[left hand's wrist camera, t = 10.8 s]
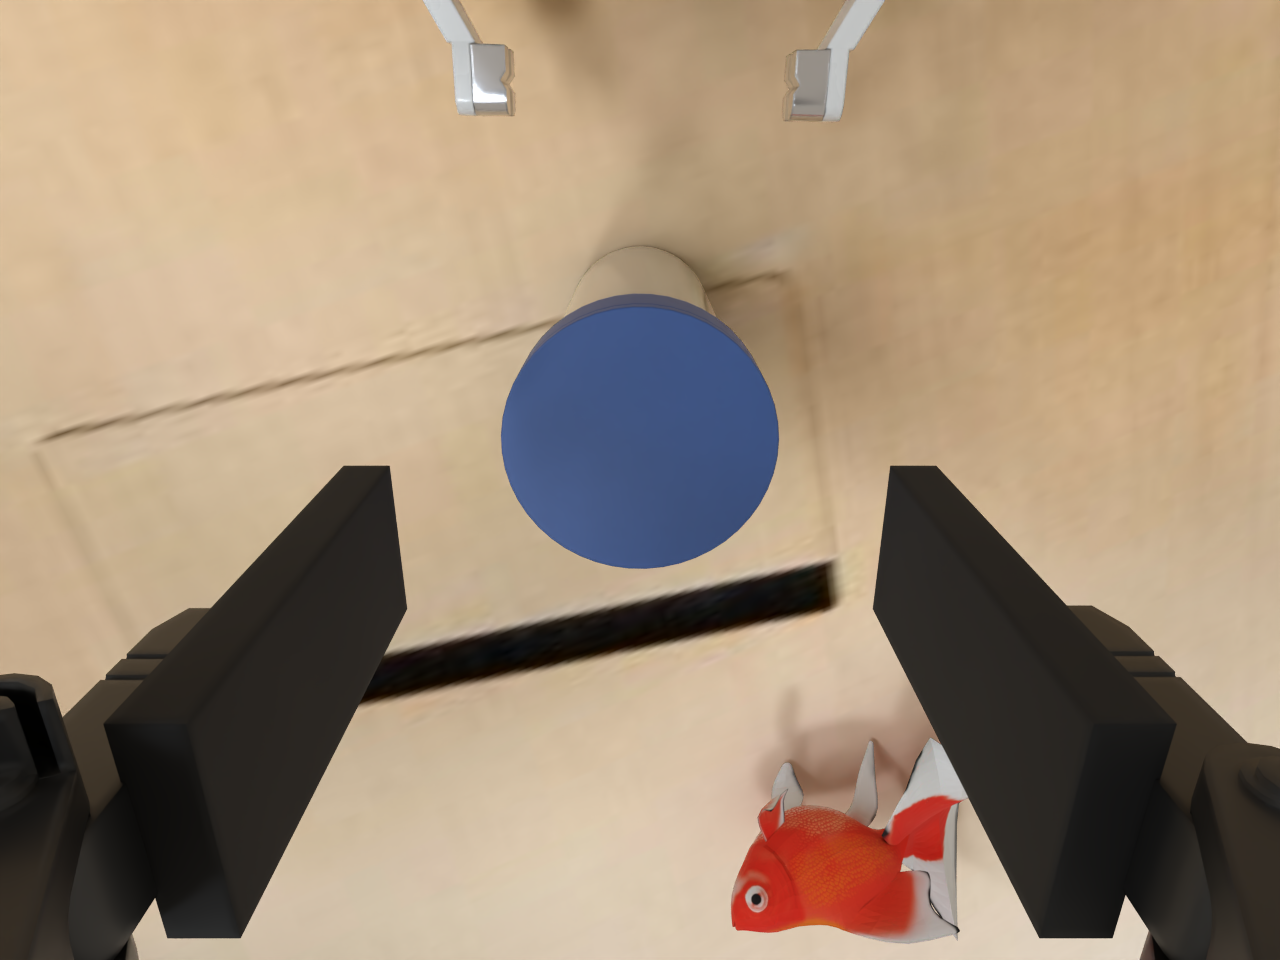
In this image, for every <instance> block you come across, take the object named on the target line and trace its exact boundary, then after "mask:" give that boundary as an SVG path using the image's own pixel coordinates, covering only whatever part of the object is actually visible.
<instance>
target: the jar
mask: <svg viewBox="0 0 1280 960" xmlns="http://www.w3.org/2000/svg"><path fill="white" fill-rule="evenodd" d="M625 294H655V295H662V296H669V297H672V298H676V299H679V300H682V301H686V302H688V303H690V304H693V305H695V306H697V307H699V308H702V309H703V310H705V311H707V312H708V313H710V314H712V315H713V316H715V317H716V314H715V312H714V310H713V308H712V306H711V303H710V301H709V299H708V297H707V295H706V292H705V290H704V288H703V286H702V284H701V282H700V280H699V279H698V277H697V276H696V274H695V273H694V272H693V270H692V269H691V268H690V267H689V266H688V265H687V264H686V263H684V262H683V261H682V260H681V259H679V258H678V257H676V256H675V255H673V254H671V253H669V252H666V251H664V250H661V249H658V248H653V247H647V246H634V247H626V248H623V249H619V250H616V251H614V252H611V253H609V254H607V255H606V256H604V257H602V258H601V259H599V260H598V261H597V262H595V263H594V264H593V265H592V266H591V267H590V268H589V269H588V270H587V272H586V273H585V274H584V276H583V277H582V279H581V280H580V282H579V284H578V286H577V288H576V290H575V292H574V295H573V297H572V299H571V301H570V303H569V306H568V308H567V310H566V312H565V314H564V317H565V316H567V315H568V314H570V313H572V312H573V311H575V310H577V309H579V308H581V307H582V306H585V305H587V304H590V303H592V302H595V301H597V300H600V299H604V298H608V297H612V296H617V295H625ZM564 317H563V318H564ZM716 318H717V317H716Z"/></svg>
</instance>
